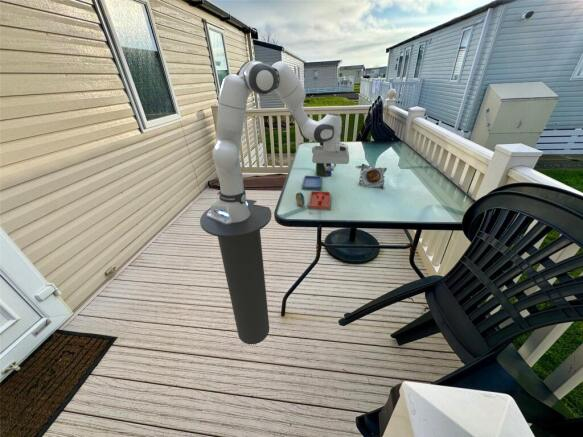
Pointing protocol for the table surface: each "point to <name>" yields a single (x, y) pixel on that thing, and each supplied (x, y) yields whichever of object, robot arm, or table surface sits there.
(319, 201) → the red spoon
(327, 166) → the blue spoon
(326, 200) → the red tray
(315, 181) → the blue tray
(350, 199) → the table surface
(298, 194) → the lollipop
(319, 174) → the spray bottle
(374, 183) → the meal
